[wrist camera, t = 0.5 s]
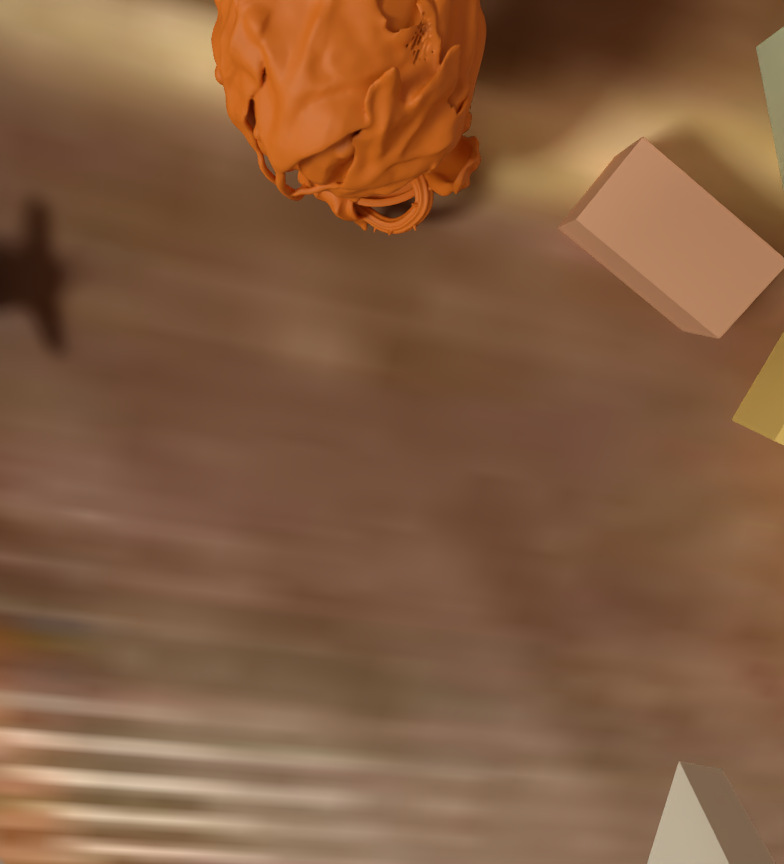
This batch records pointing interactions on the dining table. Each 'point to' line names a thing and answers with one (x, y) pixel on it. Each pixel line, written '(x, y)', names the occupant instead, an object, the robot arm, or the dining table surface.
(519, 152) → the dining table surface
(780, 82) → the sage brick
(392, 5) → the orange lumpy upright piece
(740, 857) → the robot arm
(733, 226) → the terracotta brick
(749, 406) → the ochre brick
